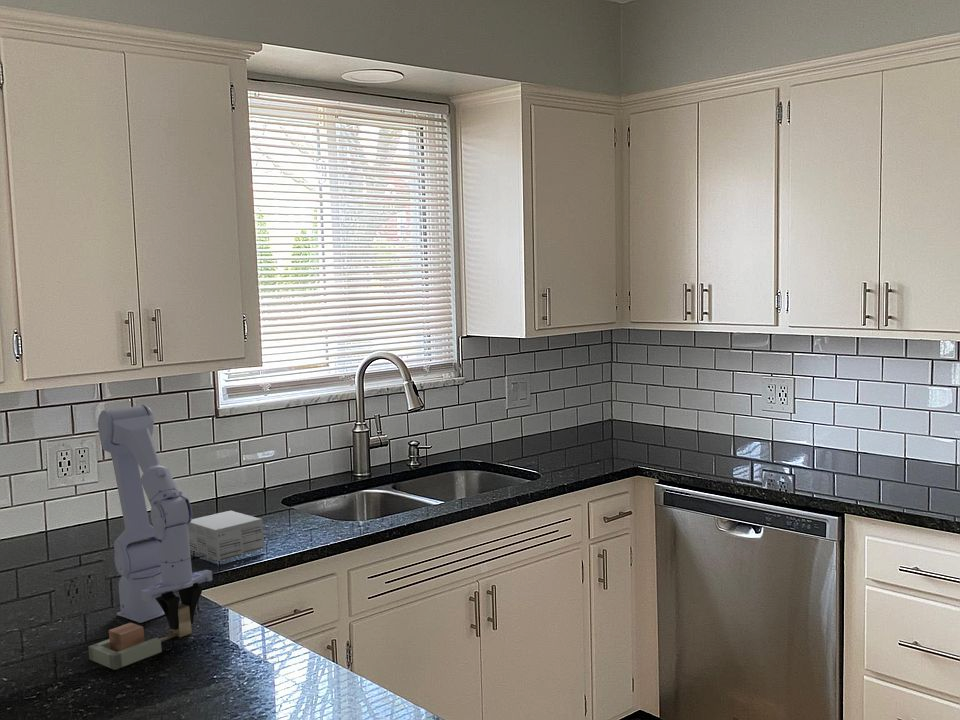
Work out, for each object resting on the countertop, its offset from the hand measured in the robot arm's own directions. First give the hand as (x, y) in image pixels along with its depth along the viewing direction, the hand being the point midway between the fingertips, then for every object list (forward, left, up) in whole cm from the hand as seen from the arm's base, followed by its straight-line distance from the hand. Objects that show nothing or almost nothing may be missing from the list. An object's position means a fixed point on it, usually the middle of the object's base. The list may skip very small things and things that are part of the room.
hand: (181, 625), depth 185 cm
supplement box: (-40, +39, -2) cm, 56 cm away
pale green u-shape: (0, -12, -2) cm, 13 cm away
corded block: (0, -6, -2) cm, 6 cm away
